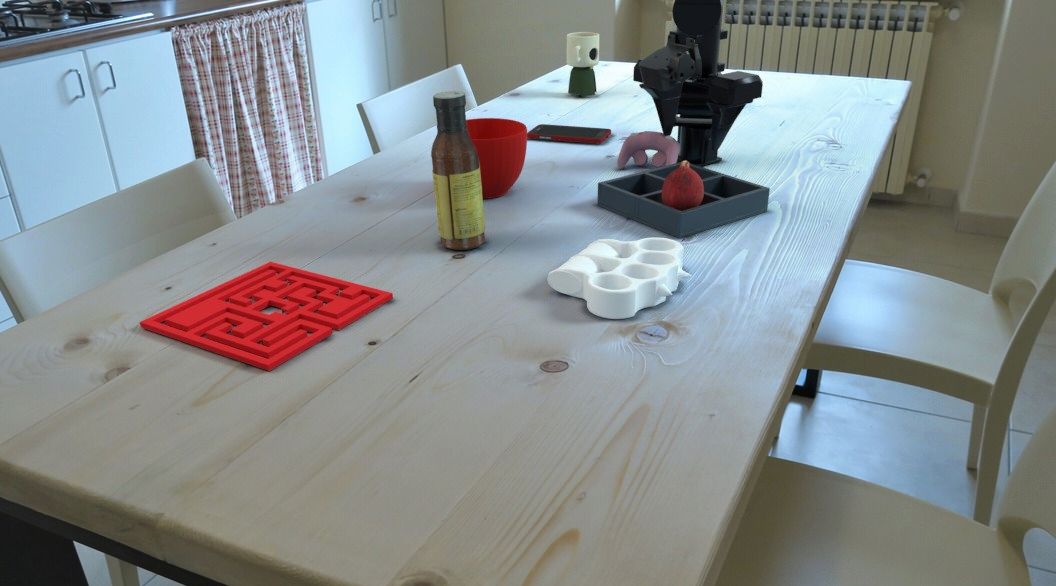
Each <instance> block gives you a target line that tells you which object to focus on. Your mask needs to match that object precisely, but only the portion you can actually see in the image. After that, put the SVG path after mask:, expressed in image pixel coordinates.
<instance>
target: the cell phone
mask: <svg viewBox="0 0 1056 586" xmlns="http://www.w3.org/2000/svg"><path fill="white" fill-rule="evenodd" d="M611 135H612V129H610V128H604V127H603V128H602V127H588V126H577V125H576V126H574V125H560V124H547V123H546V124H545V123H541V124H537V125H536V126H535V127H533V128H532V129H530V130H529V131H527V139H533V140H534V139H535V140H545V141H546V140H547V141H558V142H570V143H582V144H583V143H585V144H599V145H600V144H602V143H604V142H605V141H606V139H609V137H610V136H611Z"/></svg>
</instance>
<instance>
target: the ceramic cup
mask: <svg viewBox="0 0 1056 586" xmlns="http://www.w3.org/2000/svg"><path fill="white" fill-rule="evenodd" d="M466 123H467V129H468V132H469V135H470V138H471V140H472V143H473V144H474V146H475V148H476V151H477V154H478V158H479V163H480V174H481V185H482V197H483V199H495V198H500V197H503V196H505V195H507V194H508V193H509V191H510V190H511V189H512V187H513V186H514V185H515V183H516V182H517V181H518V179H519V177H520V176H521V174H522V171H523V169H524V165H525V161H526V155H527V145H528V137H527V133H528V127H527V125H526V124H525V123H523V122H521V121H519V120H515V119H509V118H500V117H499V118H497V117H482V118H479V117H478V118H469V119H466Z"/></svg>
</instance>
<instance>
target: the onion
mask: <svg viewBox="0 0 1056 586" xmlns="http://www.w3.org/2000/svg"><path fill="white" fill-rule="evenodd" d="M689 164H690V163H689V162H688V161H686V160H685V161H683V162H682V163H681V165H680V167H679V168H678V169H676V170H674V171H673V172H671V173H670V174H669V175H668V176H667V178H666V179H665V181H664V184H663V187H662V199H663V202H664V204H665V205H666V206H669V207H671V208H674V209H677V210H680V211H684V210H687V209H691V208H694V207H697V206H699V204H700V203H701V202H702V199H703V196H704V186H703V182H702V180H701V178H700V176H699V175H698V174H697V173H696V172H695V171H694V170H692V169H691V168H690V167H689Z"/></svg>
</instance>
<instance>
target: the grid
mask: <svg viewBox="0 0 1056 586" xmlns="http://www.w3.org/2000/svg"><path fill="white" fill-rule="evenodd" d="M681 163H682V162H676V163H675V164H671V165H667V166H666V165H665V166H663V167H659V168H657V167H655V168H651V169H648V170H643V171H639V172H635V173H631V174H627V175H624V176H620V177H615V178H611V179H607V180H603V181H600V182H599V181H598V182H597V201H596V202H597V203H596V204H597V206H598V207H601V208H603V209H605V210H608V211H610V212H613V213H615V214H618V215H621V216H623V217H626V218H628V219H631V220H632V221H635V222H637V223H640V224H643V225H645V226H648V227H650V228H653V229H655V230H658V231H660V232H663V233H666V234H667V235H670V236H673V237H675V238H678V239H682V238H685V237H688V236H692V235H695V234H698V233H702V232H705V231H709V230H711V229H715V228H718V227H721V226H725V225H727V224H731V223H734V222H737V221H741V220H744V219H747V218H751V217H754V216H756V215H761V214H763V213H766V212H768V208H769V207H768V206H769V199H770V191H771V188H770V187H767V186H763V185H761V184H758V183H754V182H751V181H747V180H744V179H741V178H738V177H735V176H732V175H728V174H725V173H722V172H720V171H716V170H713V169H709V168H706V167H704V166H697V165H694V164H689V167H690V168H691V169H692V170H694V171H695V172H696V173H697V174H698V175H699V176H700V178H701V180H702V182H703V186H704V196H703V199H702V202H701V203H700V204H699V206H697V207H694V208H691V209H687V210H684V211H680V210H677V209H674V208H671V207H669V206H666V205H665V204H664V202H663V199H662V187H663V184H664V181H665V179H666V178H667V176H668V175H669V174H670V173H671V172H673V171H674V170H676V169H678V168H679V167H680V165H681Z"/></svg>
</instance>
